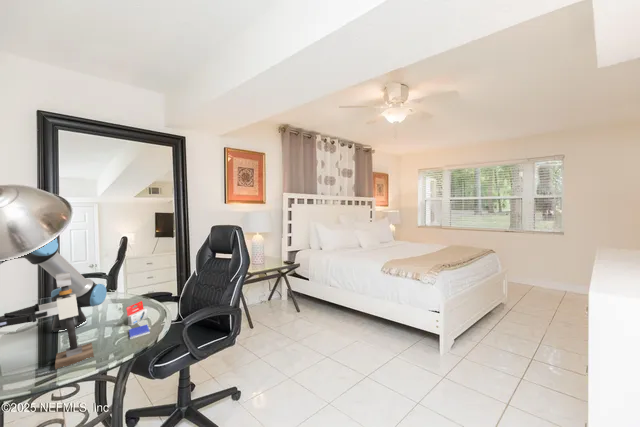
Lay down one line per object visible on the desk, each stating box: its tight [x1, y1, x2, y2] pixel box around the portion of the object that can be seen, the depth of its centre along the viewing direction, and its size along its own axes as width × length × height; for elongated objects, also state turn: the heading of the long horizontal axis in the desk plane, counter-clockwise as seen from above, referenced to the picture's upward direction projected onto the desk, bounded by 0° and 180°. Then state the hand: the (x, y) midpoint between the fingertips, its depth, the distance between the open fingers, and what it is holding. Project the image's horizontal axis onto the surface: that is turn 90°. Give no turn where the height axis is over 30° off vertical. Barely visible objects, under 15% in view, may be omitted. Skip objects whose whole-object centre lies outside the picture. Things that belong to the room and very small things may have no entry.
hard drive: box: [128, 324, 151, 340], centre depth 146 cm, size 2×8×12 cm
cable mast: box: [54, 272, 95, 370], centre depth 125 cm, size 14×12×36 cm
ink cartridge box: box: [125, 300, 149, 326], centre depth 162 cm, size 2×11×10 cm, turn 168°
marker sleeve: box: [57, 294, 78, 320], centre depth 124 cm, size 6×6×8 cm
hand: (59, 306), depth 123 cm, fingers open, 13 cm apart
